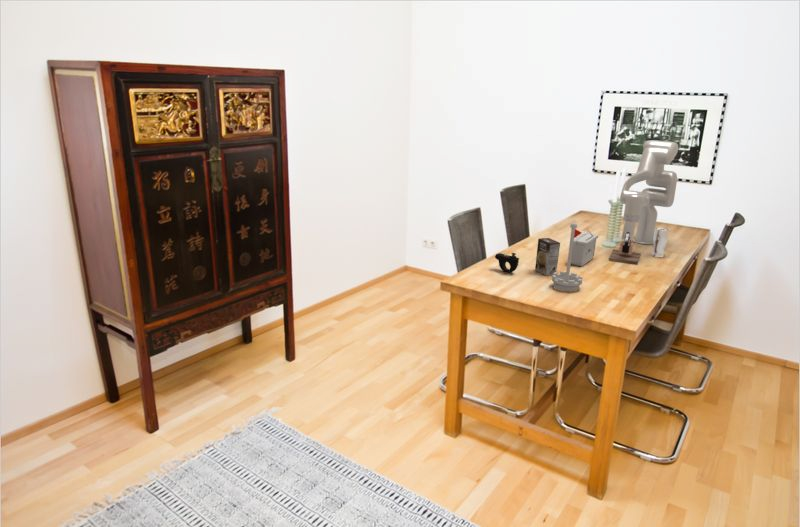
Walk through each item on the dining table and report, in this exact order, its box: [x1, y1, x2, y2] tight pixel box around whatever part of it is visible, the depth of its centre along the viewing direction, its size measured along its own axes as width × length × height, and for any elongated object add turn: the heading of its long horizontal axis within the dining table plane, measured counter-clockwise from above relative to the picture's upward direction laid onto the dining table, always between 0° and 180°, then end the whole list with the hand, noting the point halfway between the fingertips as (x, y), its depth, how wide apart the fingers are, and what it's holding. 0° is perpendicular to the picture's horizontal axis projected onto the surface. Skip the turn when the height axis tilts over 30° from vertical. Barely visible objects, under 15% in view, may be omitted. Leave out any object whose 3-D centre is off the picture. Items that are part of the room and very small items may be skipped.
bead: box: [618, 240, 635, 255], centre depth 291 cm, size 6×6×5 cm
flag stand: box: [551, 222, 584, 293], centre depth 244 cm, size 13×13×30 cm
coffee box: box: [534, 237, 561, 277], centre depth 265 cm, size 9×6×16 cm
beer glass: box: [651, 227, 670, 258], centre depth 296 cm, size 7×7×15 cm
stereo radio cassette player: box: [571, 227, 599, 267], centre depth 283 cm, size 21×8×20 cm, turn 145°
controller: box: [494, 252, 520, 274], centre depth 266 cm, size 4×12×10 cm, turn 46°
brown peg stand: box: [608, 249, 642, 266], centre depth 292 cm, size 18×14×8 cm
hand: (625, 250), depth 292 cm, fingers closed on bead, 5 cm apart
